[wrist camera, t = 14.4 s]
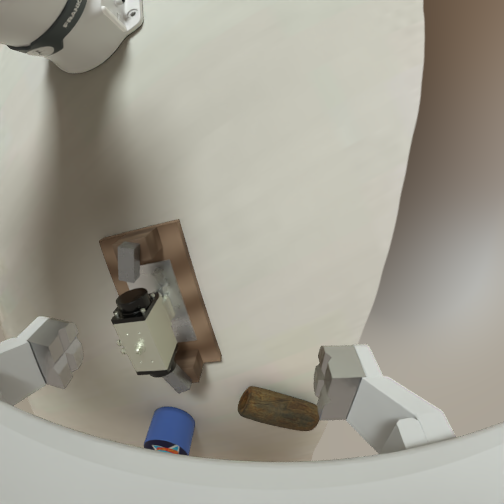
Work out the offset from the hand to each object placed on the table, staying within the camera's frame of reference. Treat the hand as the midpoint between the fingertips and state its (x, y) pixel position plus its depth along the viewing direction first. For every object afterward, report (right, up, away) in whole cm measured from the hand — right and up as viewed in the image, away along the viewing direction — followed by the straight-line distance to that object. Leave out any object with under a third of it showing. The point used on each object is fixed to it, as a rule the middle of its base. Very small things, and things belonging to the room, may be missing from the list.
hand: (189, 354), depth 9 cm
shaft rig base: (-12, -5, +38) cm, 40 cm away
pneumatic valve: (-12, -5, +37) cm, 39 cm away
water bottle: (-15, -33, +49) cm, 60 cm away
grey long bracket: (-12, -5, +37) cm, 39 cm away
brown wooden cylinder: (+7, -25, +45) cm, 52 cm away
